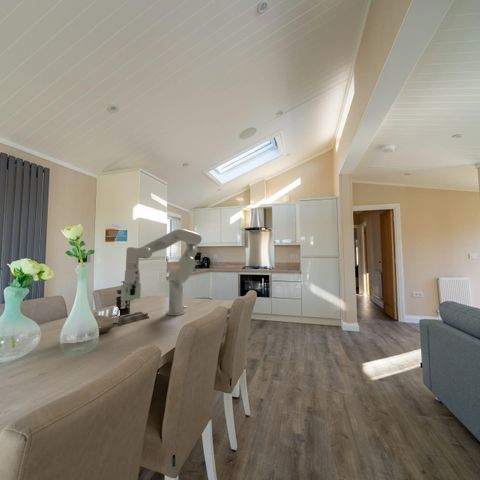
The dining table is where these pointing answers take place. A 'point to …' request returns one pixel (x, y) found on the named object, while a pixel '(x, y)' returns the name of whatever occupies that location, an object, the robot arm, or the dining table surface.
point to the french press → (127, 304)
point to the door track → (132, 318)
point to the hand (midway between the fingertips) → (131, 294)
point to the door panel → (126, 292)
